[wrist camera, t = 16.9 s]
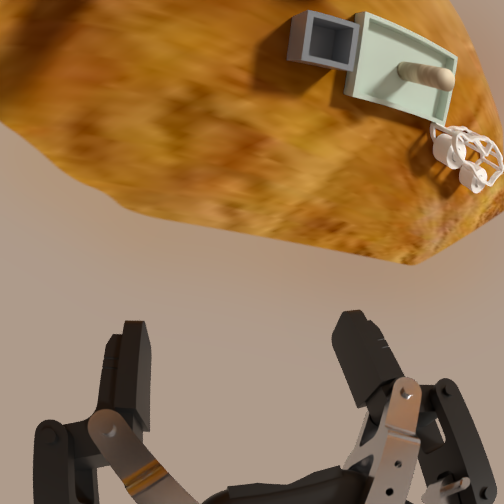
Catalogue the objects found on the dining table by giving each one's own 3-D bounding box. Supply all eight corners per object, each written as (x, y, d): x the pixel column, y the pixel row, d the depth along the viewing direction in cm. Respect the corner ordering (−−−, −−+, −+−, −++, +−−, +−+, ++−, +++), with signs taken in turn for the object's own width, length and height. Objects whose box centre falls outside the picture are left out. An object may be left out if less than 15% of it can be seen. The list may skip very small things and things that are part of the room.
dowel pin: (398, 58, 33) (441, 65, 25) (413, 65, 34) (456, 73, 26) (395, 77, 35) (437, 87, 27) (410, 83, 36) (452, 94, 28)
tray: (355, 13, 29) (365, 11, 27) (446, 55, 33) (457, 57, 31) (343, 94, 37) (352, 96, 35) (433, 121, 41) (444, 126, 39)
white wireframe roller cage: (418, 145, 44) (443, 159, 38) (442, 99, 39) (470, 109, 33) (464, 188, 52) (485, 204, 46) (485, 150, 46) (507, 163, 40)
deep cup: (292, 16, 29) (308, 9, 24) (338, 28, 31) (359, 24, 26) (286, 60, 33) (301, 60, 28) (332, 69, 35) (352, 71, 30)
